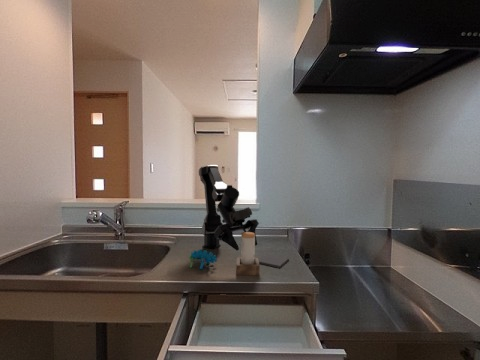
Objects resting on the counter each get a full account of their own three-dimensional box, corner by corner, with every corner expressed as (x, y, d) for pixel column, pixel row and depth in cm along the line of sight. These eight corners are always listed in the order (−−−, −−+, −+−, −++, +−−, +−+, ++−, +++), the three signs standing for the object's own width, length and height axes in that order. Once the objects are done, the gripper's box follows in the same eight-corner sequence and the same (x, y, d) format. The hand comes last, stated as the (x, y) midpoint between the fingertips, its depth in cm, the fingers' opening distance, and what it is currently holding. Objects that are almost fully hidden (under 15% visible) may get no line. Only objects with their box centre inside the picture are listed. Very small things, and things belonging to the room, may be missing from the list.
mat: (256, 262, 111) (256, 260, 111) (266, 255, 120) (266, 254, 120) (279, 267, 106) (279, 265, 106) (288, 260, 115) (288, 258, 115)
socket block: (236, 275, 99) (236, 265, 99) (236, 266, 107) (236, 257, 107) (259, 275, 99) (259, 265, 99) (258, 266, 107) (258, 257, 107)
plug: (238, 271, 102) (238, 234, 101) (245, 267, 106) (245, 231, 105) (250, 274, 100) (250, 236, 99) (256, 270, 104) (257, 233, 103)
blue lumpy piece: (220, 260, 109) (211, 247, 102) (218, 274, 105) (208, 262, 98) (195, 260, 113) (185, 248, 106) (192, 274, 109) (180, 263, 102)
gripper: (218, 203, 99) (238, 239, 92) (255, 199, 112) (276, 231, 104) (206, 221, 106) (224, 257, 98) (242, 215, 118) (260, 247, 110)
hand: (247, 247), depth 102 cm, fingers open, 9 cm apart
